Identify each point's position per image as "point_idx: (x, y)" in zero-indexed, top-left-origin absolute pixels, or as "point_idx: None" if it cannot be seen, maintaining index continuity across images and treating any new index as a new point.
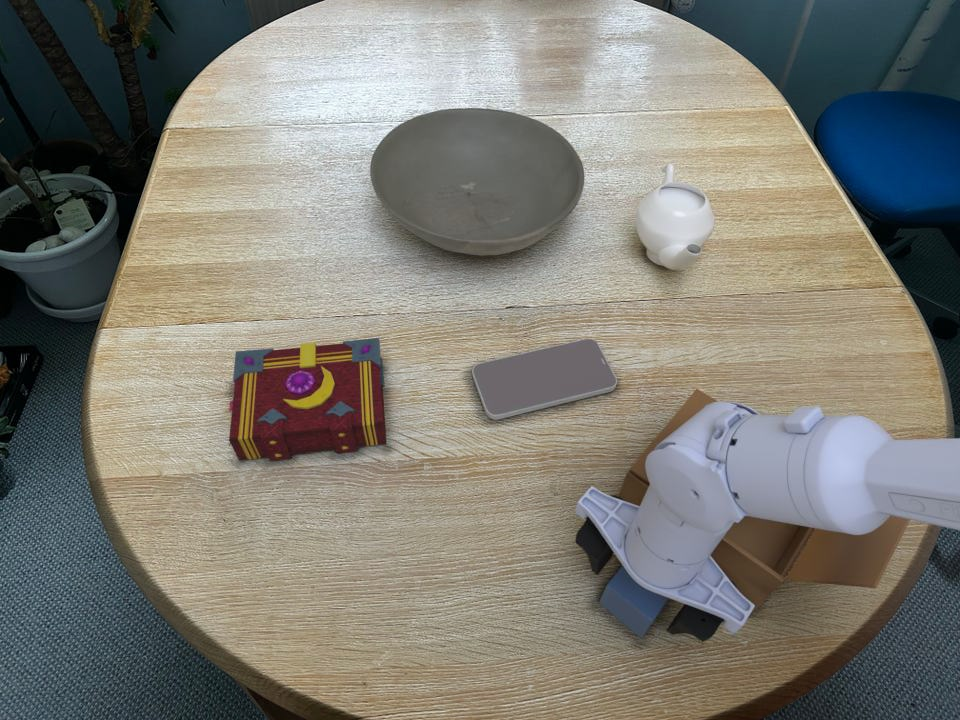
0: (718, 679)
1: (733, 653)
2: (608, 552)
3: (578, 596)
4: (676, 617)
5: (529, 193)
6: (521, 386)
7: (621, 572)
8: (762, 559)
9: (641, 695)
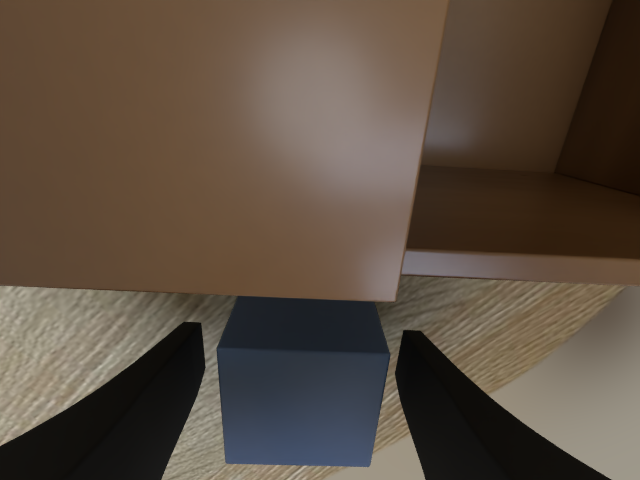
0: (509, 339)
1: (527, 285)
2: (161, 421)
3: (213, 367)
4: (413, 400)
5: None
6: None
7: (233, 426)
8: (568, 8)
9: (395, 423)
